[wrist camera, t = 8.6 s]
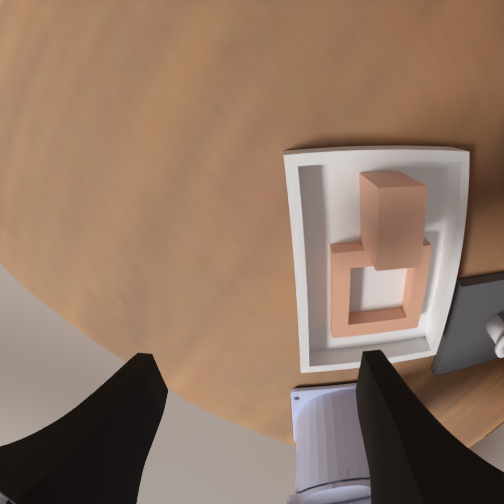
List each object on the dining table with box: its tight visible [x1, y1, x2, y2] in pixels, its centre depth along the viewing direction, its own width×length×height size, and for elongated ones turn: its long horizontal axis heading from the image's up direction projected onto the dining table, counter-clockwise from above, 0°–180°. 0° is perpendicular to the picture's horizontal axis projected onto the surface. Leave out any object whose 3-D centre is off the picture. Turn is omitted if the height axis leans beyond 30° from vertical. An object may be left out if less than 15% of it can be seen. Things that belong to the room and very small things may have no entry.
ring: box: [330, 172, 432, 338], centre depth 15 cm, size 10×6×4 cm, turn 8°
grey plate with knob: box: [431, 272, 504, 376], centre depth 17 cm, size 9×9×4 cm
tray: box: [283, 145, 469, 373], centre depth 17 cm, size 14×10×2 cm
